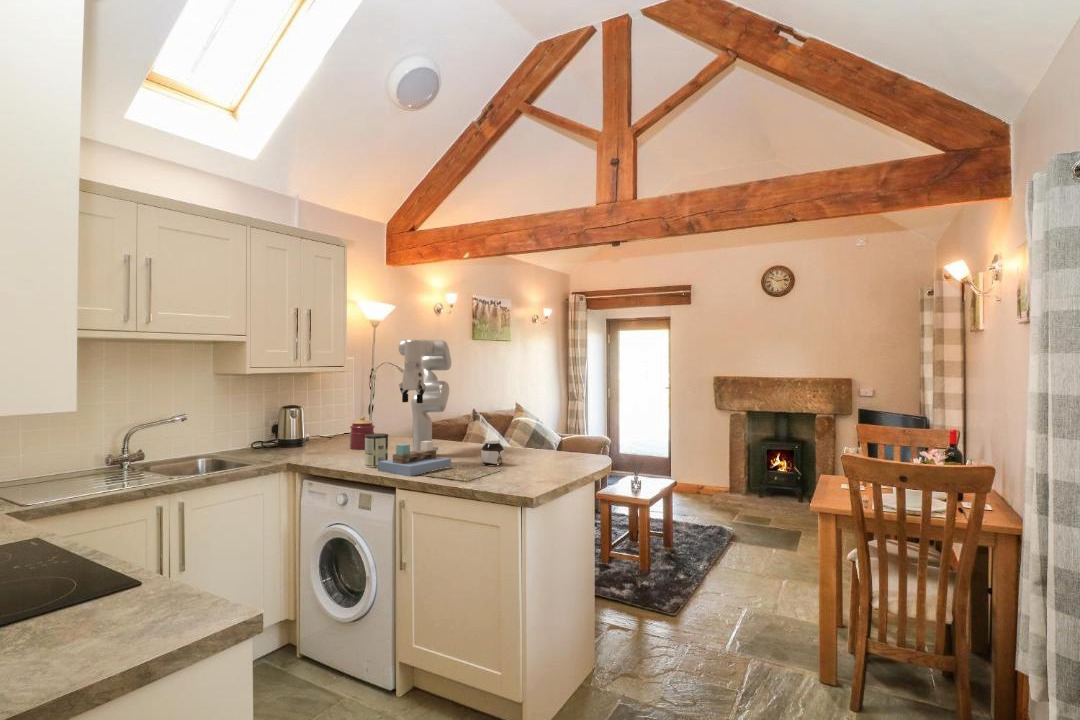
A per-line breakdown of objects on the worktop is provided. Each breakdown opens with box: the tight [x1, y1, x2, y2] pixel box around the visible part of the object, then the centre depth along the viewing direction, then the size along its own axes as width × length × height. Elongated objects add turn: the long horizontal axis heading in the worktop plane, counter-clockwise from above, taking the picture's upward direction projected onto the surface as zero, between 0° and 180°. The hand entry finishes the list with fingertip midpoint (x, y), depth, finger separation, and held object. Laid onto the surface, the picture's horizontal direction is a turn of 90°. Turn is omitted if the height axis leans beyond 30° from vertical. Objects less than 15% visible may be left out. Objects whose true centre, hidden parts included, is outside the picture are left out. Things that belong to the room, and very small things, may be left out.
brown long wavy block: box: [392, 450, 437, 464], centre depth 247 cm, size 20×6×4 cm, turn 145°
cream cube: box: [420, 440, 434, 451], centre depth 253 cm, size 4×4×4 cm
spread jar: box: [480, 438, 505, 466], centre depth 262 cm, size 12×11×12 cm
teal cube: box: [395, 443, 411, 455], centre depth 241 cm, size 4×4×4 cm
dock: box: [377, 456, 452, 477], centre depth 247 cm, size 24×20×4 cm
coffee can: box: [364, 432, 389, 468], centre depth 256 cm, size 10×10×14 cm
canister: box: [349, 415, 376, 450], centre depth 311 cm, size 13×13×18 cm
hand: (412, 402), depth 263 cm, fingers open, 9 cm apart
